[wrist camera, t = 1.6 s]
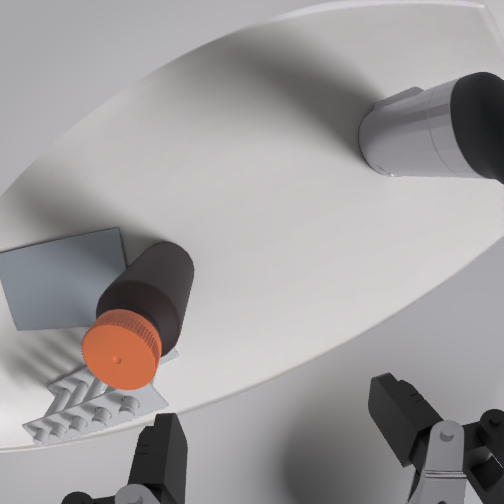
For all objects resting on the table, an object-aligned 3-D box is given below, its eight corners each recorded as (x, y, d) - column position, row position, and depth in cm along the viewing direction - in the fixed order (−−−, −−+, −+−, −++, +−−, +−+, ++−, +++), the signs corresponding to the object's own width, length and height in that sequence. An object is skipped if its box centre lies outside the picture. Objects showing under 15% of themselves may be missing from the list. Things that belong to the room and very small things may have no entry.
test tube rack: (65, 404, 38) (36, 456, 25) (48, 385, 37) (15, 434, 24) (179, 353, 38) (167, 420, 25) (160, 328, 37) (138, 390, 24)
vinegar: (192, 239, 35) (162, 306, 15) (196, 294, 36) (180, 403, 17) (137, 243, 34) (56, 307, 14) (143, 296, 35) (85, 398, 16)
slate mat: (118, 227, 33) (117, 228, 33) (140, 319, 36) (139, 321, 35) (-4, 254, 31) (-6, 255, 31) (18, 329, 34) (17, 330, 34)
